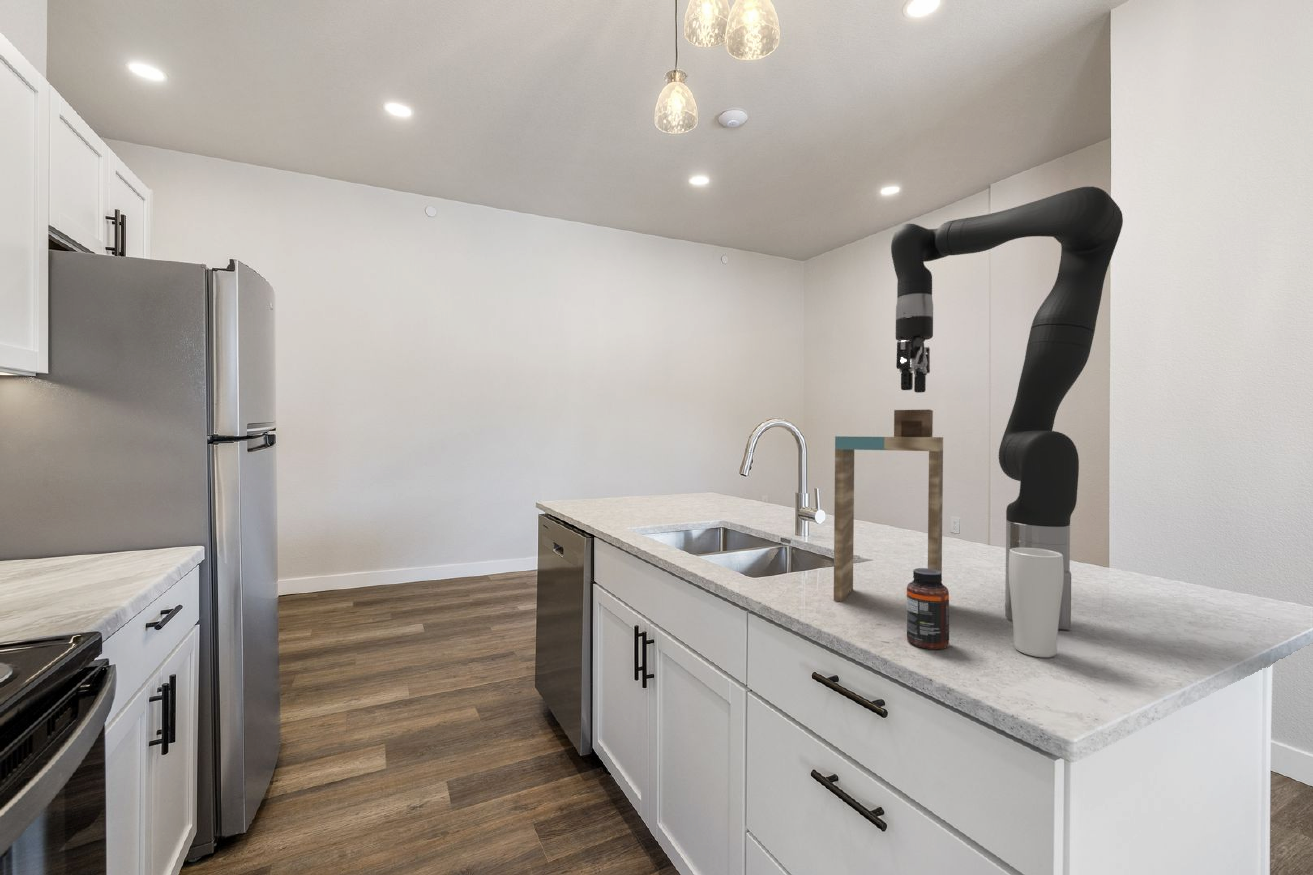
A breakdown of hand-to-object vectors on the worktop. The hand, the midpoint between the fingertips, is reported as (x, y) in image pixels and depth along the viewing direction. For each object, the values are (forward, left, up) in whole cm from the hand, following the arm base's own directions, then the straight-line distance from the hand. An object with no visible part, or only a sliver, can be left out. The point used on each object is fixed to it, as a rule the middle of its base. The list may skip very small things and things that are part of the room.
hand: (913, 391), depth 123 cm
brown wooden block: (-3, +14, -10) cm, 17 cm away
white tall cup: (-21, +34, -42) cm, 58 cm away
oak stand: (+2, +19, -42) cm, 46 cm away
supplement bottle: (-7, +39, -42) cm, 58 cm away
